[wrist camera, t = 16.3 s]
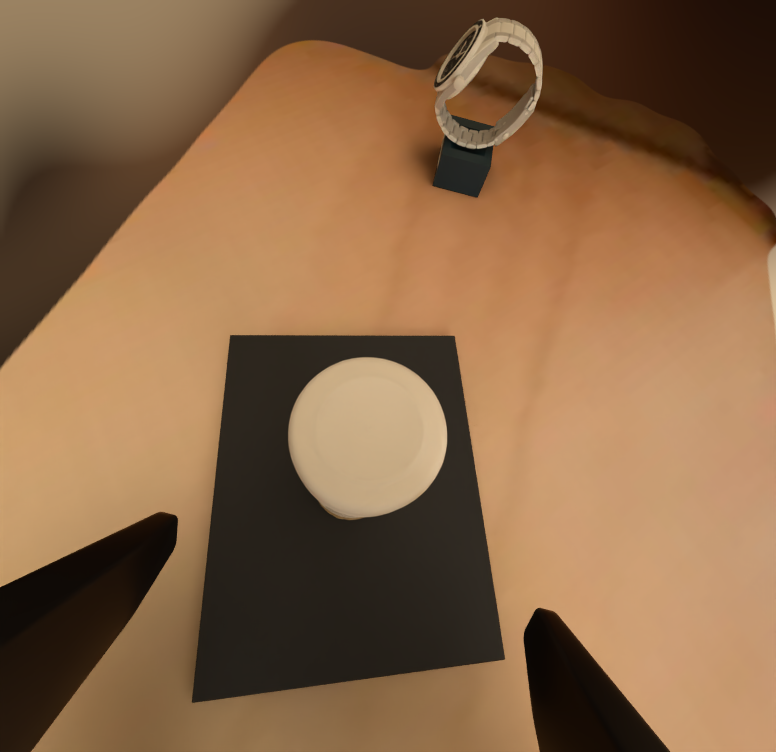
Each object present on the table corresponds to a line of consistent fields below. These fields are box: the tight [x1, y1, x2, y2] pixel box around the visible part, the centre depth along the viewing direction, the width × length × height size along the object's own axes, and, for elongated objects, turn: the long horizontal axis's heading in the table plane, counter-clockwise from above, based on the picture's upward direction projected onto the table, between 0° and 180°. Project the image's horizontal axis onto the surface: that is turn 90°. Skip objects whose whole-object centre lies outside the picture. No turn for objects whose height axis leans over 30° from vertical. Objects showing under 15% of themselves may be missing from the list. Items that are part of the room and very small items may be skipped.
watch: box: [433, 18, 542, 197], centre depth 30 cm, size 6×8×11 cm
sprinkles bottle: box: [288, 357, 447, 520], centre depth 16 cm, size 5×5×13 cm
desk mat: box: [192, 335, 505, 703], centre depth 23 cm, size 20×16×1 cm
